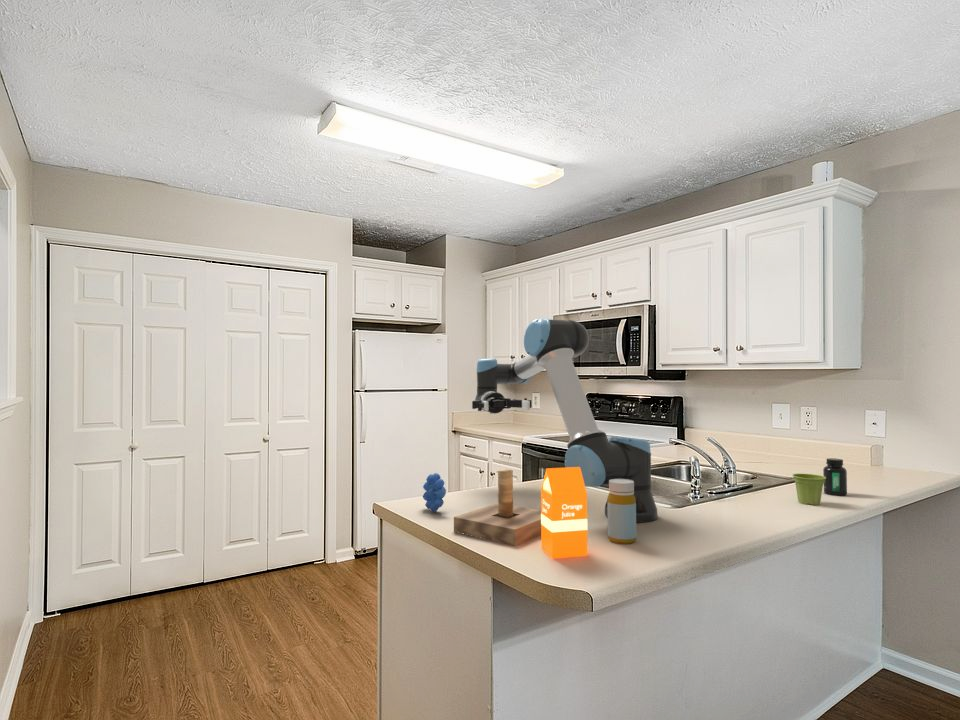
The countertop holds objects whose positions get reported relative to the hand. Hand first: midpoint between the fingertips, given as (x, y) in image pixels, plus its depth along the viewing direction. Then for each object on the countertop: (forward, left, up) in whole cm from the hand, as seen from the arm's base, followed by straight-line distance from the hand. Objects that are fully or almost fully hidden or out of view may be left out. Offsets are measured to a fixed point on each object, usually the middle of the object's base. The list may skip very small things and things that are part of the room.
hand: (508, 405), depth 180 cm
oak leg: (-14, +22, -32) cm, 41 cm away
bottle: (-43, +12, -32) cm, 55 cm away
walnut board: (-14, +22, -32) cm, 41 cm away
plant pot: (-74, -62, -32) cm, 102 cm away
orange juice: (-36, +29, -32) cm, 57 cm away
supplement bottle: (-79, -82, -32) cm, 119 cm away
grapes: (+15, +18, -32) cm, 40 cm away
